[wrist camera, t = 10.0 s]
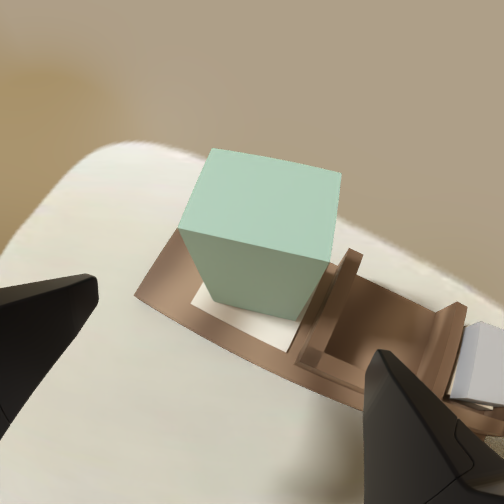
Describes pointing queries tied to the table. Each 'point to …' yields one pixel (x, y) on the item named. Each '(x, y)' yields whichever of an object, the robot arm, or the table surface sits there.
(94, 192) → the table surface
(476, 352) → the grey offcut slab
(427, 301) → the table surface
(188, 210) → the mint green block
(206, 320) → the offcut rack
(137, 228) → the table surface
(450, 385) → the birch offcut slab
